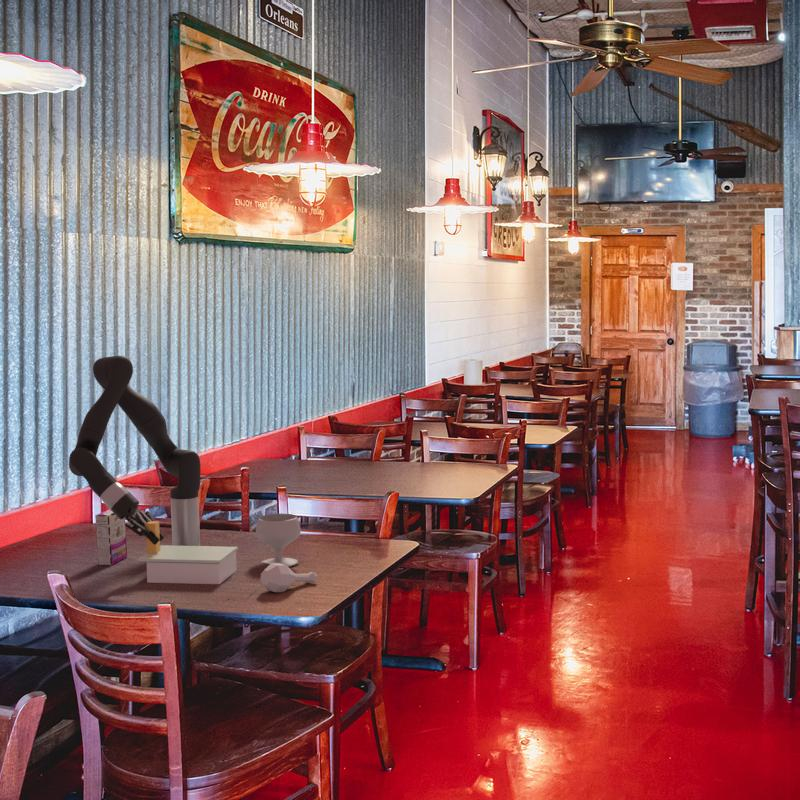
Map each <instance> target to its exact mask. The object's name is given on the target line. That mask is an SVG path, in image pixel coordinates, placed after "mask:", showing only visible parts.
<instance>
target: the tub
mask: <svg viewBox="0 0 800 800" xmlns="http://www.w3.org/2000/svg"><path fill="white" fill-rule="evenodd" d="M237 569H238V568H237V551H235V552H234V553H233V554H231V555H230V556H229V557H227V558H226V559H225V560H223V561H222V562H221V563H188V562H146V582H147V583H155V584H156V583H157V584H159V583H160V584H193V585H198V584H199V585H200V584H201V585H220V584H222V583H223V582H224V581H226V579H228V578H229V577H230V576H232V575H233V574H234V573H235V572H236V571H237Z"/></svg>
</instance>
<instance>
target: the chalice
mask: <svg viewBox="0 0 800 800" xmlns="http://www.w3.org/2000/svg"><path fill="white" fill-rule="evenodd" d="M301 529H302V528H301V524H300V521H299V519H298V516H297V515H295V514H291V513H270V514H265V515H264V514H263V515H261V516H260V517H259V518H258V520H257V522H256V526H255V536H256V538H257V539H258V540H259V541H260V542H262V543H264V544H266V545H268V546H270V547H271V548H272V549H273V550H274V551H275V557H272V558H267V559H264V560H262V561H261V563H265V564H267V565H270V564H271V563H280V564H284V565H287V566H288V567H289V568H290V567H293V566H296V565H298V564H299V560H298V559H295V558H291V557H284V556H283V553H282V552H283V550H284V549H285V548H286V547H287V546H288V545H289V544H292V543H294V541H296V540H297V539H298V538H299V537H300V536H301Z"/></svg>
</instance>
